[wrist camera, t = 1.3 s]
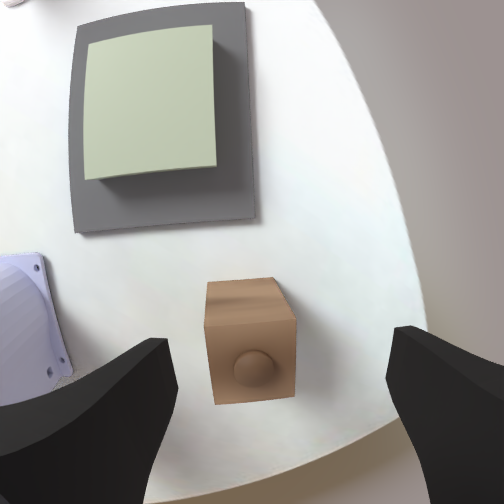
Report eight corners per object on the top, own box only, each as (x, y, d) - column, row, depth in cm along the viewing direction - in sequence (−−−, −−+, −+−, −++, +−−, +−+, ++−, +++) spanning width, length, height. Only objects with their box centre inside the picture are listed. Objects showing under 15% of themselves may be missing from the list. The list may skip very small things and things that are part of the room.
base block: (216, 167, 17) (216, 165, 15) (98, 179, 16) (84, 180, 14) (212, 39, 15) (212, 24, 13) (100, 55, 14) (88, 44, 12)
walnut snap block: (274, 340, 20) (296, 402, 14) (214, 345, 20) (214, 411, 13) (272, 277, 19) (299, 323, 13) (207, 282, 19) (203, 332, 12)
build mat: (254, 217, 18) (255, 218, 17) (78, 231, 17) (74, 233, 16) (243, 5, 15) (244, 2, 14) (80, 29, 14) (77, 26, 13)
